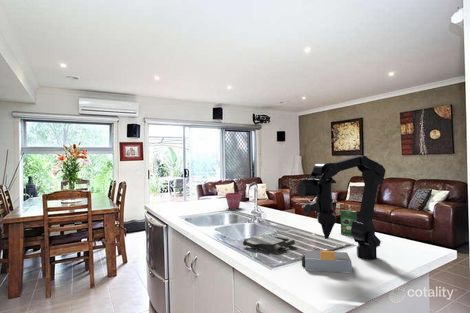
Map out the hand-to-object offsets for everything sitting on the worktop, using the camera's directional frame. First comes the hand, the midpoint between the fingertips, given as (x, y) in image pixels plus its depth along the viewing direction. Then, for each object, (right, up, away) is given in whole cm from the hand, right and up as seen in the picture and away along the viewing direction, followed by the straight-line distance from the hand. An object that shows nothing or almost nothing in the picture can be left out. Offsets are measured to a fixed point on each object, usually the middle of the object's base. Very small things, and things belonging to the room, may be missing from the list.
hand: (325, 236), depth 103 cm
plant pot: (-36, -15, +130) cm, 136 cm away
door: (-1, -11, -6) cm, 13 cm away
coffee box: (+27, -12, +42) cm, 51 cm away
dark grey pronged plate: (-18, -13, +24) cm, 32 cm away
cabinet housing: (0, -12, -1) cm, 12 cm away
